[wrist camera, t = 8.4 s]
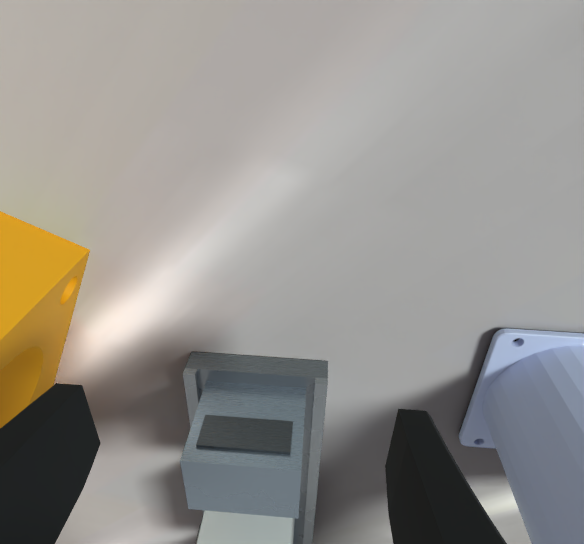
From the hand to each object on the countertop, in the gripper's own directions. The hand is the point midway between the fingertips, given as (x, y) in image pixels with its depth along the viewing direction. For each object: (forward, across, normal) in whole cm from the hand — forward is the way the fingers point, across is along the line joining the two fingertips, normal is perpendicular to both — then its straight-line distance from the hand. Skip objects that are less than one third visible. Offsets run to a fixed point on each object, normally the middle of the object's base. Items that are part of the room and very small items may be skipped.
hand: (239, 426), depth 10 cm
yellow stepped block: (+10, +13, +6) cm, 18 cm away
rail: (+10, +1, +17) cm, 20 cm away
